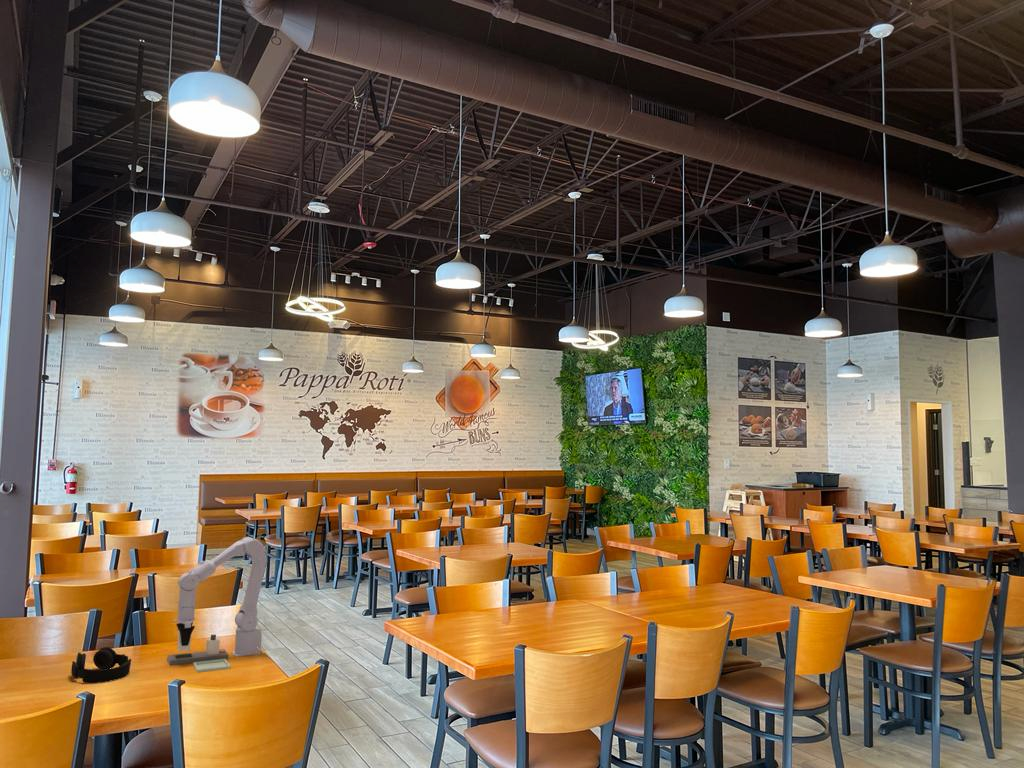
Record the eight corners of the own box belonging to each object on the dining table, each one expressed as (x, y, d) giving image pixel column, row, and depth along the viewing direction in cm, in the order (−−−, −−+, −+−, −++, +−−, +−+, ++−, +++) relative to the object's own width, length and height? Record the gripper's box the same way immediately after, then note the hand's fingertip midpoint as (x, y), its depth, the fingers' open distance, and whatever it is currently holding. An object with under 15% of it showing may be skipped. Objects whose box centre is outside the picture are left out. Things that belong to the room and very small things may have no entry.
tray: (225, 662, 274) (225, 658, 274) (230, 669, 265) (230, 666, 265) (193, 665, 269) (193, 662, 269) (197, 673, 259) (197, 669, 260)
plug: (188, 647, 277) (190, 624, 278) (190, 650, 274) (191, 626, 275) (177, 649, 275) (178, 625, 276) (178, 651, 272) (179, 627, 273)
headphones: (111, 642, 269) (142, 656, 259) (108, 663, 269) (139, 679, 258) (60, 652, 254) (91, 668, 244) (57, 675, 254) (88, 692, 243)
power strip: (224, 654, 285) (225, 631, 286) (228, 659, 278) (229, 636, 279) (167, 660, 276) (168, 636, 276) (169, 666, 268) (171, 641, 269)
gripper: (172, 604, 281) (170, 641, 279) (176, 610, 268) (174, 649, 267) (192, 602, 284) (190, 639, 283) (197, 609, 271) (195, 647, 270)
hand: (184, 644), depth 275 cm, fingers closed on plug, 4 cm apart
